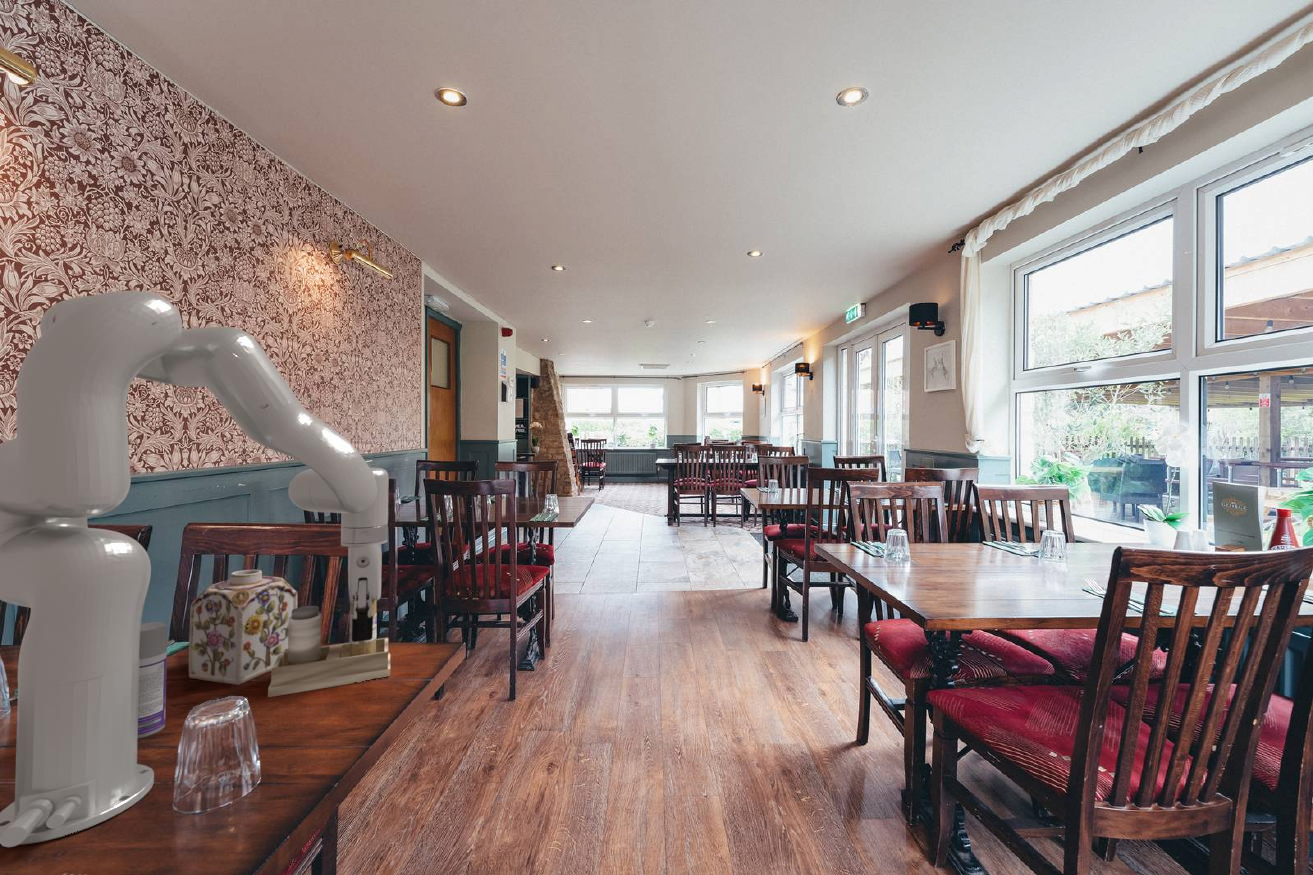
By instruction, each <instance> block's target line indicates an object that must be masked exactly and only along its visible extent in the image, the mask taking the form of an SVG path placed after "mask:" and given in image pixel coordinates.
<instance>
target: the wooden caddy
mask: <svg viewBox="0 0 1313 875" xmlns="http://www.w3.org/2000/svg"><path fill="white" fill-rule="evenodd" d="M349 656H350V642H345V643H336V644H329V645H324V646H322V612H320V606H317V605H305V606H298V607H297V608H296V609H293V610H292V616H291V617H289V632H288V651H284V652H280V654H279V656H278V658H277V660H276V662H275V664H274V666H273V667H272V671H270V673H271V674H270V675H271V676H270V677H271V678H270V679H271V681H270V683H269V686H268V687H267V690H268V691H267V698H272V697H278V696H283V695H290V694H296V693H302V692H309V691H313V690H320V689H325V688H332V687H339V686H344V685H349V684H355V683H354V682H357V683H363V682H362V681H364V682H366V681H365V680H370V679H373V678H381V677H386V676H390V677H391V653H390V652H389V637H382V638H381V637H380V638H376V653H371V654H365V655H358V656H351V657H349ZM370 681H371V680H370Z"/></svg>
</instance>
